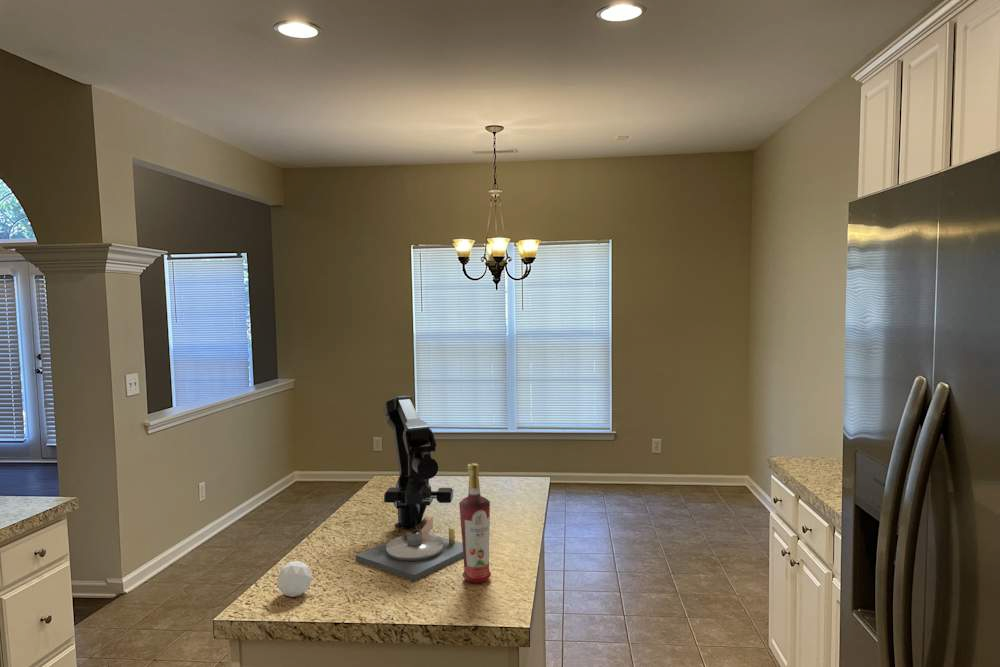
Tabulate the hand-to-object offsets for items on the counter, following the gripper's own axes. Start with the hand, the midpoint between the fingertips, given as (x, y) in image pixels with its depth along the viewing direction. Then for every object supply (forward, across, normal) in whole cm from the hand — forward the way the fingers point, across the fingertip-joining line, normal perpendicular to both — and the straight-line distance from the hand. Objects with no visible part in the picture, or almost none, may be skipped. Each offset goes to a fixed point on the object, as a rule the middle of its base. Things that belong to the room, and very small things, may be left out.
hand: (419, 525), depth 181 cm
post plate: (+5, +1, -11) cm, 12 cm away
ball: (+5, -23, -33) cm, 41 cm away
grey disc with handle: (+3, +1, -8) cm, 9 cm away
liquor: (+4, +18, -26) cm, 32 cm away
